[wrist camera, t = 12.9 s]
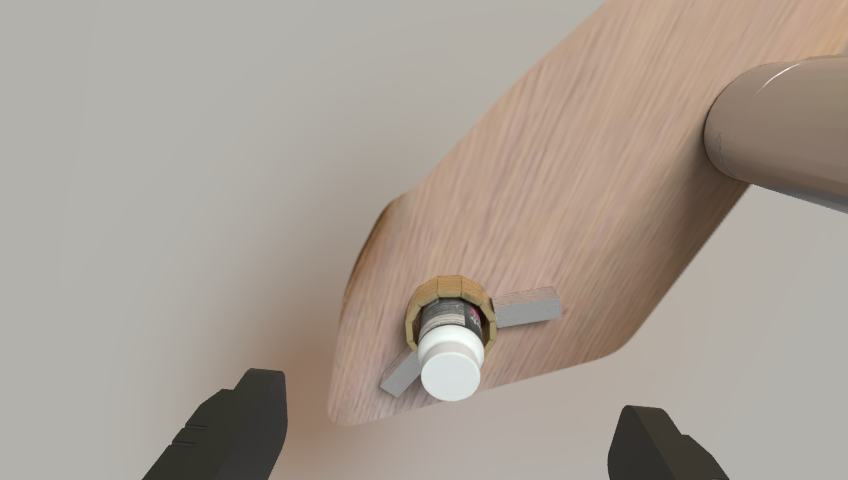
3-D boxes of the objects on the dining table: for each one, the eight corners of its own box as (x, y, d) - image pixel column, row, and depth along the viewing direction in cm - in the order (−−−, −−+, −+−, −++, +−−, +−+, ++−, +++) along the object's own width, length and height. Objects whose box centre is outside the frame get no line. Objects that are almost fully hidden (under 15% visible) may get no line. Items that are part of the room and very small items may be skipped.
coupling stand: (519, 230, 37) (526, 242, 34) (562, 302, 40) (572, 319, 37) (346, 327, 42) (338, 345, 39) (394, 386, 44) (390, 407, 41)
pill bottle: (483, 331, 41) (493, 402, 32) (428, 340, 42) (423, 412, 33) (473, 282, 39) (481, 342, 30) (415, 292, 40) (406, 354, 31)
